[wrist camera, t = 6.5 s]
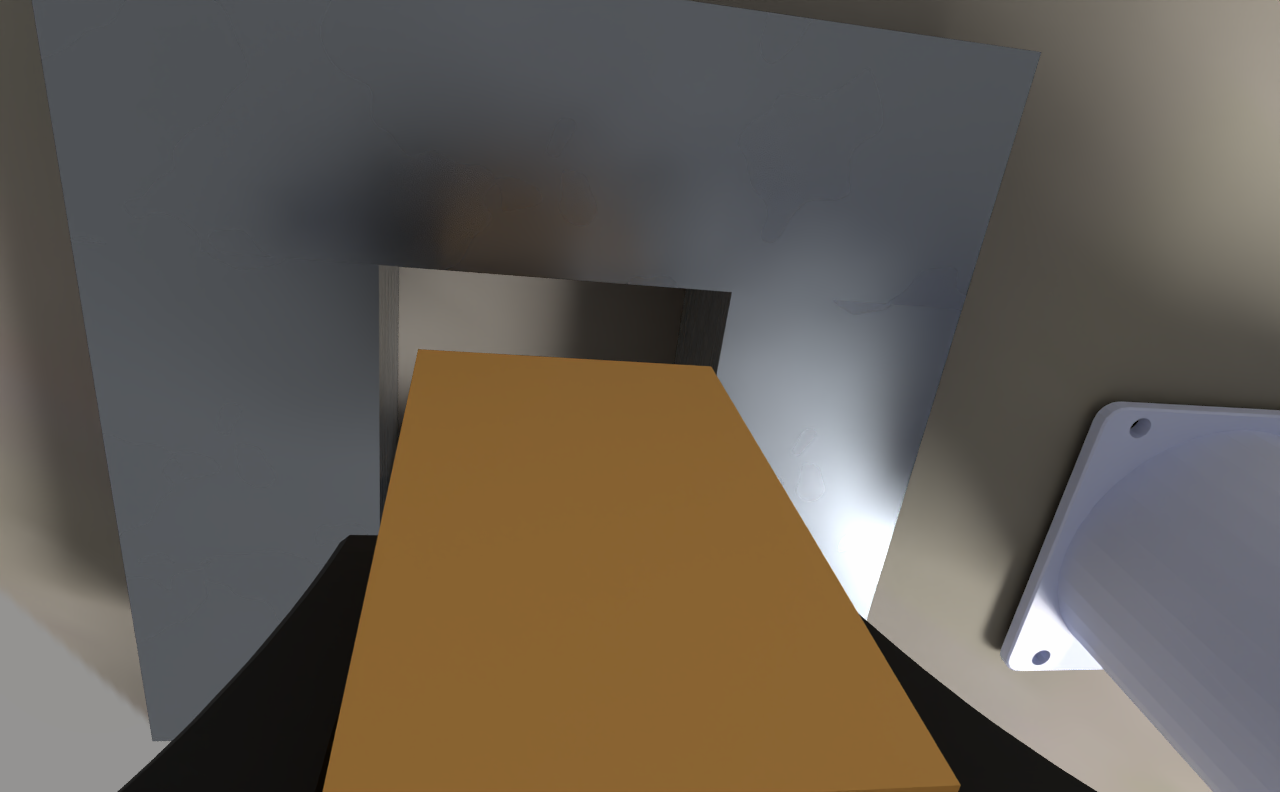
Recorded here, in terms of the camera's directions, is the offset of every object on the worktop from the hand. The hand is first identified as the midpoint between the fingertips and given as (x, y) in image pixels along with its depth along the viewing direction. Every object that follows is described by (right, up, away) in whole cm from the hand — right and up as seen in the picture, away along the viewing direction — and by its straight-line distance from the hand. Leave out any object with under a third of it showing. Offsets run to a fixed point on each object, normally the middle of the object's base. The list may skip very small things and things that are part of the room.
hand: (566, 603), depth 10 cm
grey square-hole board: (-1, +3, +7) cm, 7 cm away
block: (0, +1, +2) cm, 2 cm away
